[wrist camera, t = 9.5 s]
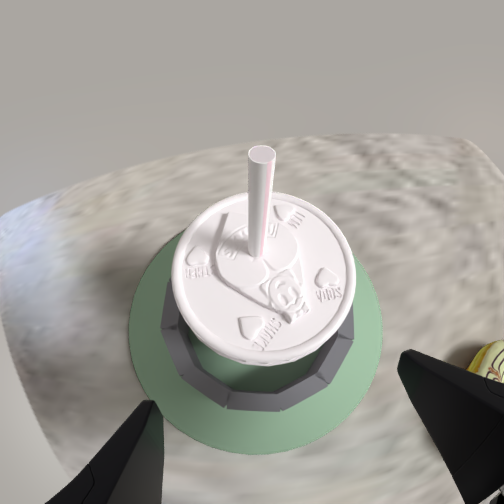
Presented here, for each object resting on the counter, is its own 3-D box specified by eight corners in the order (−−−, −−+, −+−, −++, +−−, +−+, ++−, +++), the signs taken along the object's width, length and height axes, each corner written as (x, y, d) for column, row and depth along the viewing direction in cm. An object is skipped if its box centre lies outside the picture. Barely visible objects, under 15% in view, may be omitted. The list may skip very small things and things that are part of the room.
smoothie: (271, 263, 20) (301, 75, 7) (323, 337, 17) (470, 225, 5) (191, 308, 18) (91, 150, 5) (240, 390, 16) (212, 431, 3)
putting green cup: (377, 444, 14) (400, 453, 11) (119, 430, 14) (96, 437, 11) (367, 221, 22) (382, 197, 19) (157, 208, 22) (145, 182, 19)
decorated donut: (475, 470, 11) (501, 474, 8) (425, 421, 14) (455, 424, 11) (520, 383, 14) (544, 377, 11) (479, 324, 18) (505, 313, 14)
